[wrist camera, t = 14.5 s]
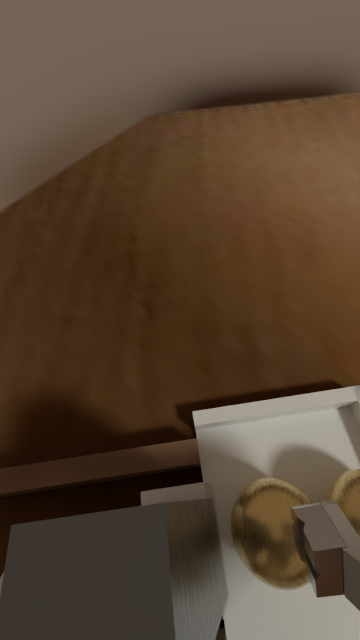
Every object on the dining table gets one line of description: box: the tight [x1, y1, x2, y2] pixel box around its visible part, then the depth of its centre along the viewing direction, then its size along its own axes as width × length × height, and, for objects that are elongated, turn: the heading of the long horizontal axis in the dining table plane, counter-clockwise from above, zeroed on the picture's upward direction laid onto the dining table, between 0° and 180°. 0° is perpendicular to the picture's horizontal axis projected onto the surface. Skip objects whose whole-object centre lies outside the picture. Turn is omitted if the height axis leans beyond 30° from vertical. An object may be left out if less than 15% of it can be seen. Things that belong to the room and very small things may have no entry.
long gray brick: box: [0, 482, 230, 640], centre depth 10 cm, size 4×4×11 cm
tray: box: [192, 385, 360, 640], centre depth 14 cm, size 12×10×2 cm
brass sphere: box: [231, 477, 313, 590], centre depth 13 cm, size 4×4×4 cm
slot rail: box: [0, 438, 227, 640], centre depth 14 cm, size 9×20×2 cm, turn 97°
